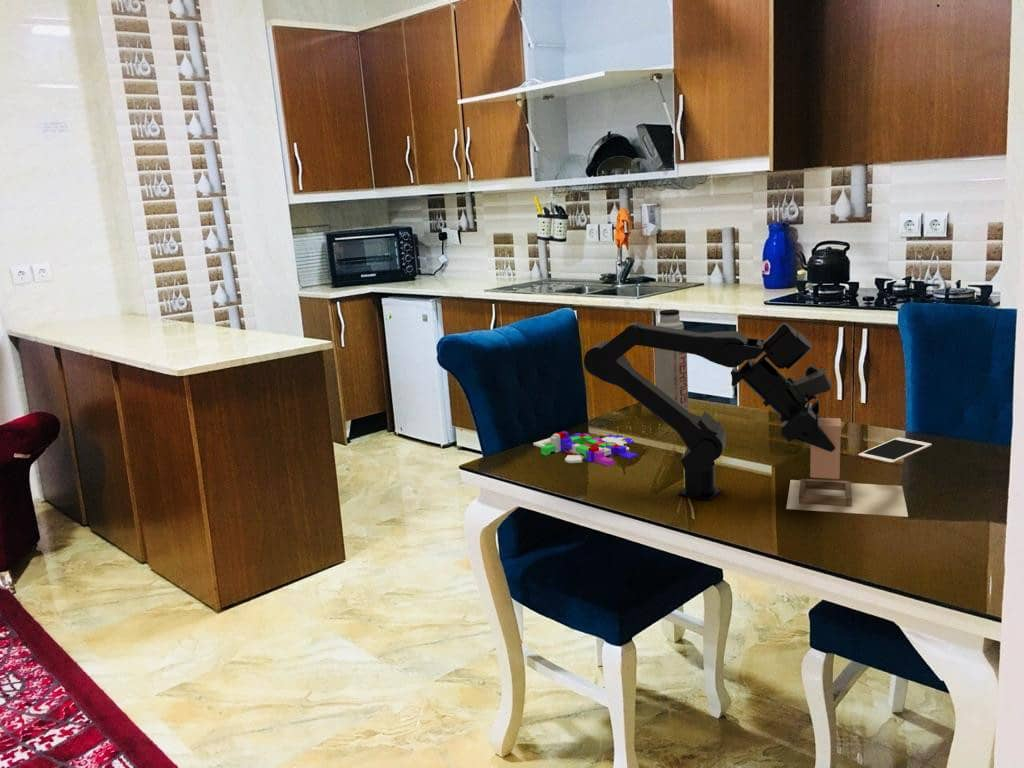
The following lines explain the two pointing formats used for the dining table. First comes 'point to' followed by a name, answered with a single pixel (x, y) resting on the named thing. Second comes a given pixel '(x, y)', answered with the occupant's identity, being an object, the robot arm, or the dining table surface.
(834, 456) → the pillar
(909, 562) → the dining table surface
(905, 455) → the cell phone
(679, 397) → the thermos bottle
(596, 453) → the building block set
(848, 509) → the board
